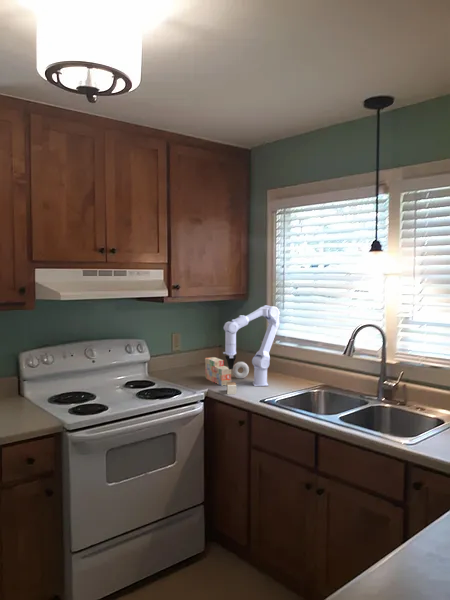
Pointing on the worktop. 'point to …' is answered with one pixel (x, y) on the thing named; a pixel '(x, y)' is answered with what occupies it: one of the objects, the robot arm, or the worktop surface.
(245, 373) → the donut
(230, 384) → the walnut block
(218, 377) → the stack of blocks
